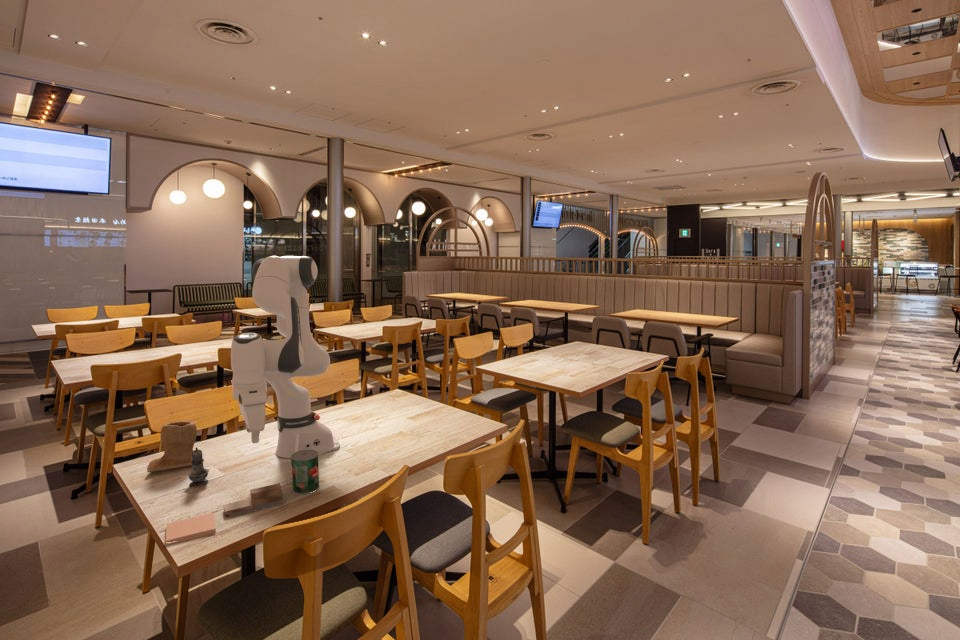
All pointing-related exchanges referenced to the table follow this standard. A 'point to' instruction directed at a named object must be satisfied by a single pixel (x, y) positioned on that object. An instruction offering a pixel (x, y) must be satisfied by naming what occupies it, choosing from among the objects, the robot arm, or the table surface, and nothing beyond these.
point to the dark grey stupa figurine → (198, 470)
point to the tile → (190, 528)
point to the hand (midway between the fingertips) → (252, 436)
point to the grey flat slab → (257, 508)
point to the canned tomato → (305, 471)
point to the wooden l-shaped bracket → (256, 499)
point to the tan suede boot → (175, 446)
